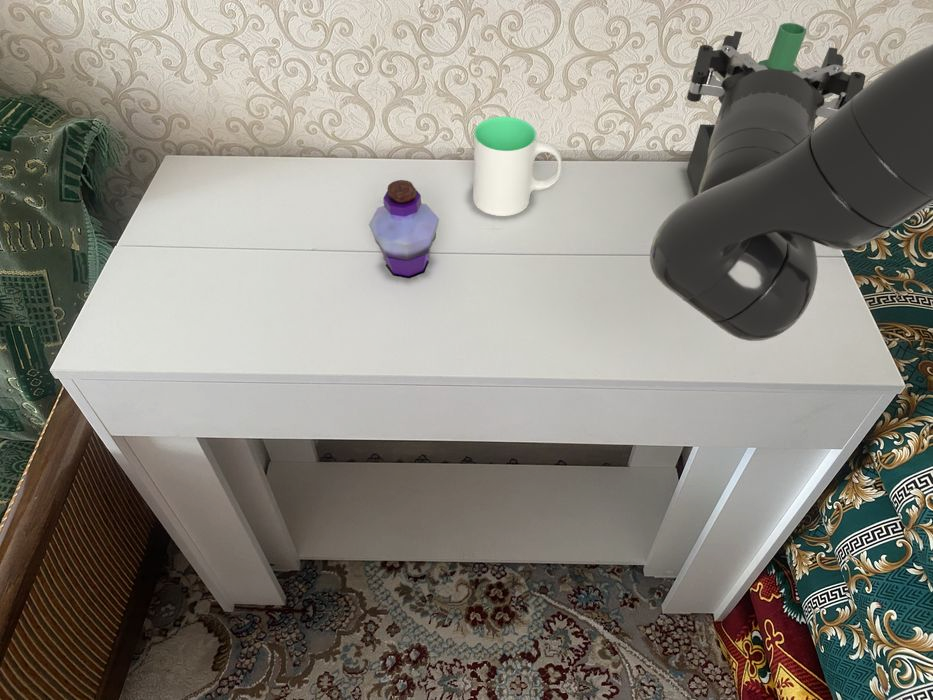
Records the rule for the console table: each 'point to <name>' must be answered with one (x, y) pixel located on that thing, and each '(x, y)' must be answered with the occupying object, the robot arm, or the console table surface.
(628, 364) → the console table surface
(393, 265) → the potion bottle
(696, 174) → the bin
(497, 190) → the mug
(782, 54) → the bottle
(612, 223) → the console table surface
